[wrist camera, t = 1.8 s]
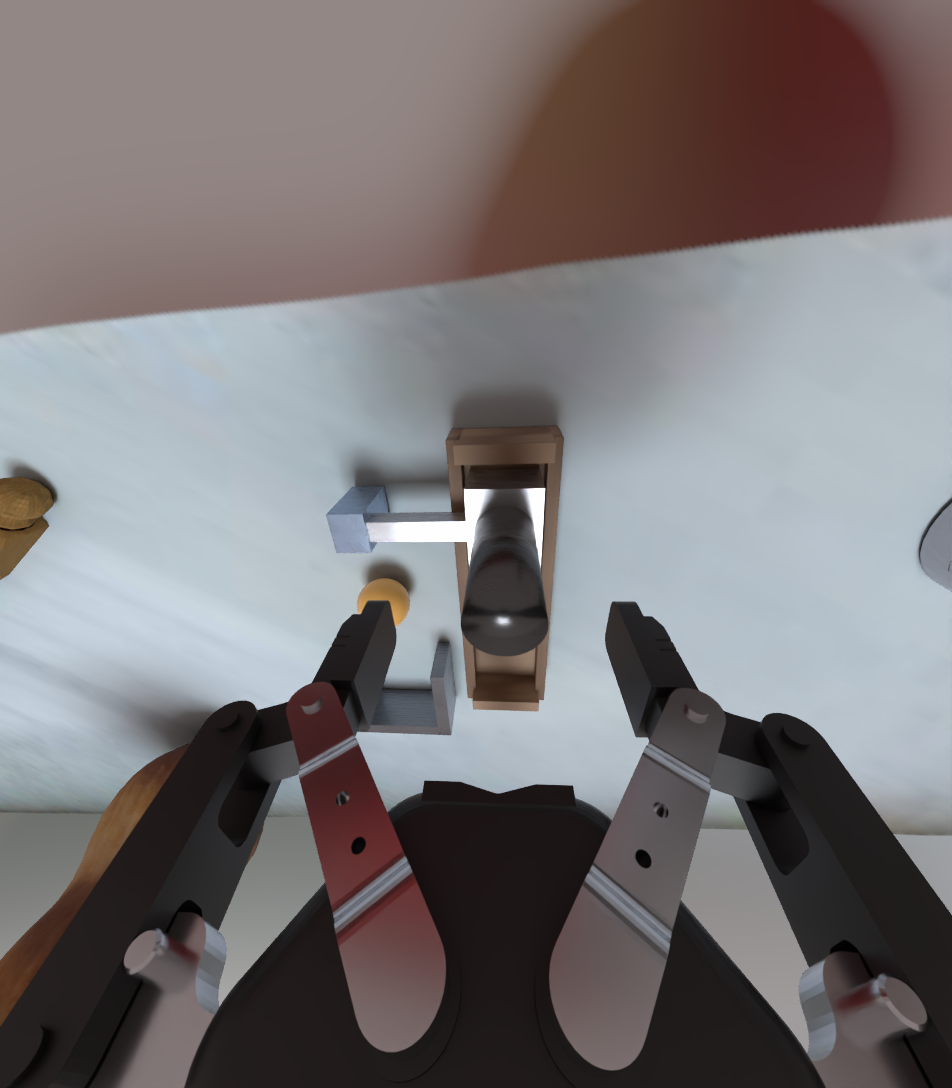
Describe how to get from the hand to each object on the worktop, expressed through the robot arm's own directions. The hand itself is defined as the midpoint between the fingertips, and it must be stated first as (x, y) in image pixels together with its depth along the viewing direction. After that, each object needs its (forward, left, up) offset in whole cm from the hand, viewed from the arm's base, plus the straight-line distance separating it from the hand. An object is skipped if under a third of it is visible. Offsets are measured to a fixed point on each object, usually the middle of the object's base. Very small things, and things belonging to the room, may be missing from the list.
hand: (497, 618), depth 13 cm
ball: (+8, +7, -11) cm, 16 cm away
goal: (+8, +16, -11) cm, 21 cm away
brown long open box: (0, +6, -11) cm, 13 cm away
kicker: (+4, 0, -11) cm, 11 cm away
